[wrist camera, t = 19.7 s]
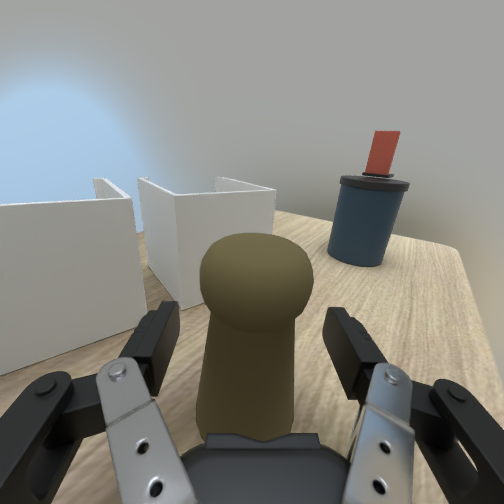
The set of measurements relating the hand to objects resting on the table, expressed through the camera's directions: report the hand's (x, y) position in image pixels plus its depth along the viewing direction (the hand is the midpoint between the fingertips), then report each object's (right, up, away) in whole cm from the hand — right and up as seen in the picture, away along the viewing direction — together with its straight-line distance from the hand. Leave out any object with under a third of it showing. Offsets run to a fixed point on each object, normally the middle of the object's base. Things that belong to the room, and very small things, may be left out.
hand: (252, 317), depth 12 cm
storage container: (-11, -1, +13) cm, 17 cm away
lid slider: (+19, +15, +23) cm, 33 cm away
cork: (0, -6, +2) cm, 7 cm away
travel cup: (+17, +3, +26) cm, 31 cm away
